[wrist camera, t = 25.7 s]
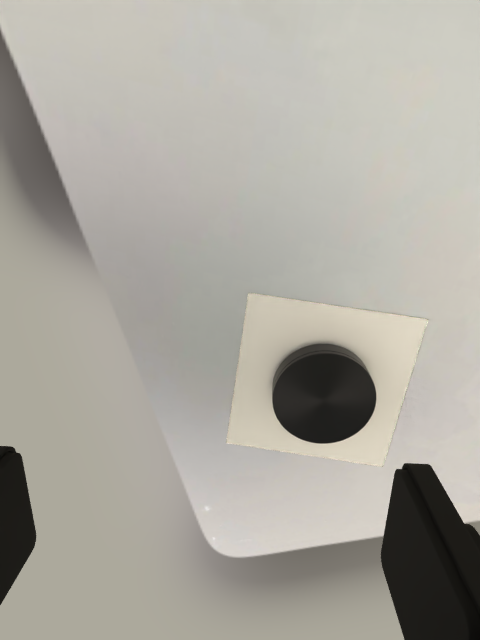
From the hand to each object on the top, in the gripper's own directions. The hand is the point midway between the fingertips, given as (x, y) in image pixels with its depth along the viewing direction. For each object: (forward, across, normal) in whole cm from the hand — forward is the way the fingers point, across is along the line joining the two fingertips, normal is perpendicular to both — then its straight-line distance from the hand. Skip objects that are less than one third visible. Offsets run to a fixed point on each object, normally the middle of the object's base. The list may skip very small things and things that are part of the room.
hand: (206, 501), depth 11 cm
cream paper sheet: (+19, -6, +7) cm, 21 cm away
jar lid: (+17, -6, +7) cm, 19 cm away
